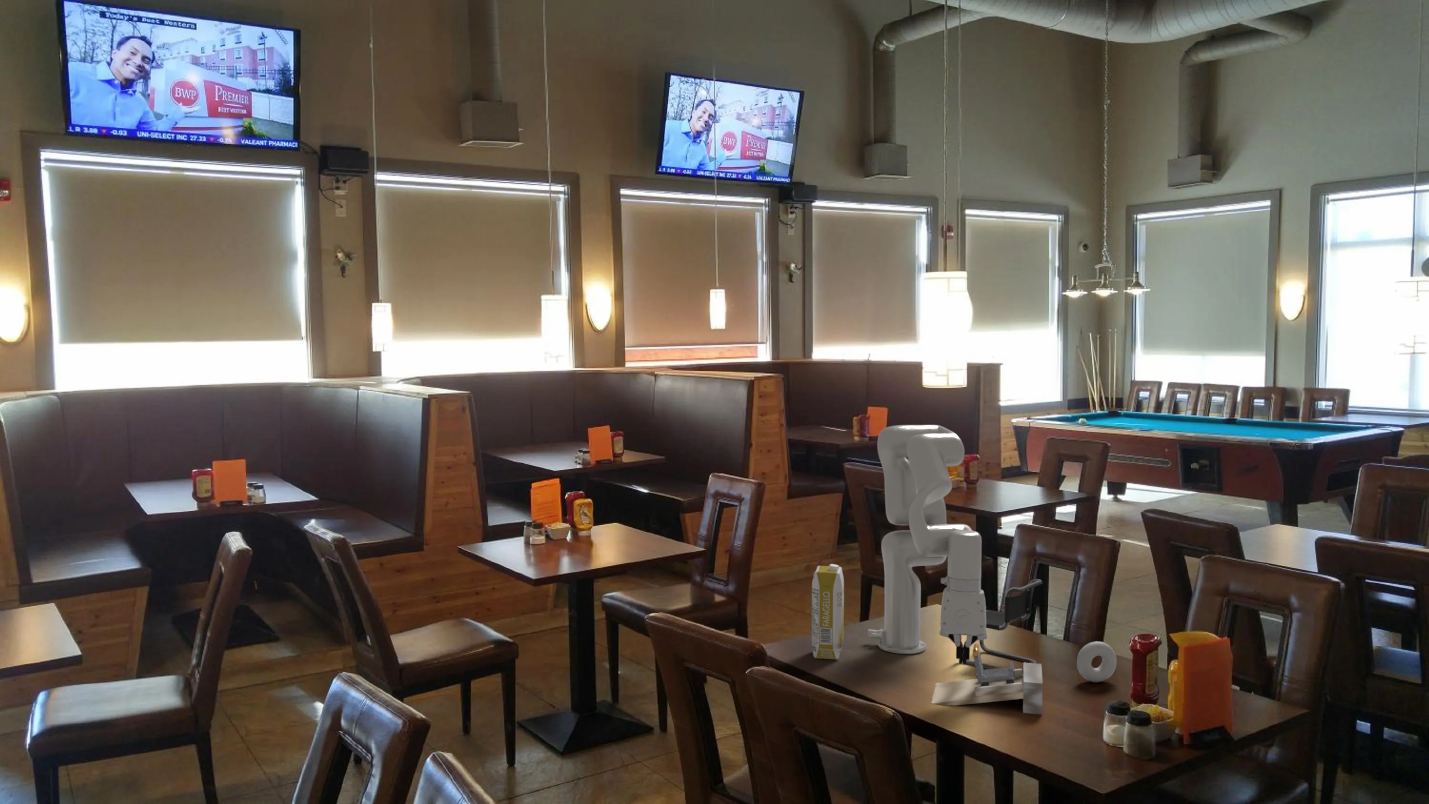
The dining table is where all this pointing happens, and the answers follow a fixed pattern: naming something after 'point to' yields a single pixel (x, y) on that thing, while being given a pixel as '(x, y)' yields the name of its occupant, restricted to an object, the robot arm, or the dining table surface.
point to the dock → (996, 690)
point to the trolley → (992, 671)
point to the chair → (1009, 618)
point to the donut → (1087, 656)
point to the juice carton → (827, 612)
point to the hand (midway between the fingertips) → (962, 662)
